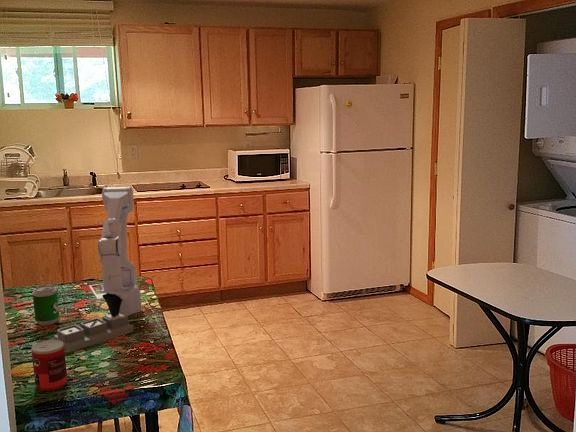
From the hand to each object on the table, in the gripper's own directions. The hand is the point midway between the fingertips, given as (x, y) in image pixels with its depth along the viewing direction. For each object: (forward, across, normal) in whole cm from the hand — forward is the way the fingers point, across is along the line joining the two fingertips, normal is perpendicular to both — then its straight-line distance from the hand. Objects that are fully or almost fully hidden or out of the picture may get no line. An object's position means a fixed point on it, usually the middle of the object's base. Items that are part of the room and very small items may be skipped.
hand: (115, 315), depth 190 cm
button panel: (+5, 0, -7) cm, 9 cm away
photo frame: (+6, -37, +19) cm, 42 cm away
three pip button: (+3, 0, -7) cm, 8 cm away
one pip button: (+3, 0, -15) cm, 15 cm away
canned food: (+5, +21, -30) cm, 37 cm away
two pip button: (+2, 0, 0) cm, 2 cm away
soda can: (+5, -23, -12) cm, 27 cm away
